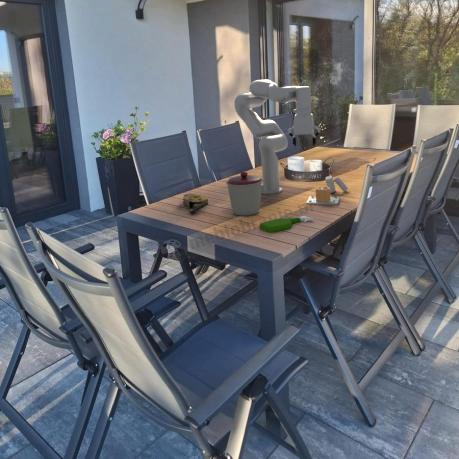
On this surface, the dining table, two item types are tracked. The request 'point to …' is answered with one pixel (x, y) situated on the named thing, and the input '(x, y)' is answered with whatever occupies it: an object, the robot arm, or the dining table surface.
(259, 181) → the canister
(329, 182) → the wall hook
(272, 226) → the spray bottle
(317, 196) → the tan hollow octagonal block
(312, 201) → the keeper
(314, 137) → the robot arm
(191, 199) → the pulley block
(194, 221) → the dining table surface
